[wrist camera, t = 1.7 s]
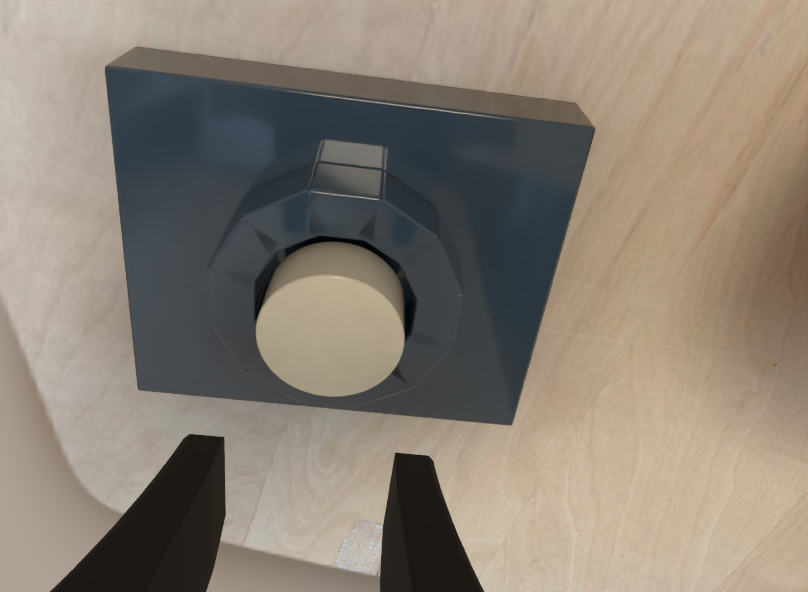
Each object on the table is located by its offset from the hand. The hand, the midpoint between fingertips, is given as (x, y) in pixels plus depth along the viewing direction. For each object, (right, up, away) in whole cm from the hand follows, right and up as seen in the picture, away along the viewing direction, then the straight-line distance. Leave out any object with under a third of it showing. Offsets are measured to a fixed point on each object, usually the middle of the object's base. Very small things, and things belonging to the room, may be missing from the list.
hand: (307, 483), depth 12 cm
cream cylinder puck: (0, +3, +5) cm, 6 cm away
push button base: (0, +5, +8) cm, 10 cm away
